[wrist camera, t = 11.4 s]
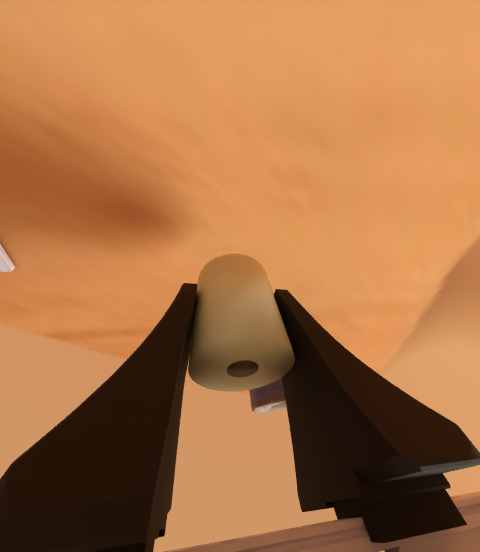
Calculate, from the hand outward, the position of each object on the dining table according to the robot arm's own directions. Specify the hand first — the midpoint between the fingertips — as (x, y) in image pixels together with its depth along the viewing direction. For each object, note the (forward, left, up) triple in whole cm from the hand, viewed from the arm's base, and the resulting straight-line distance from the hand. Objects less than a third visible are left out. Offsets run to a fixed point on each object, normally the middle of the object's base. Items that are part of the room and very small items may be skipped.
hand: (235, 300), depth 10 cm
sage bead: (0, 0, -1) cm, 1 cm away
